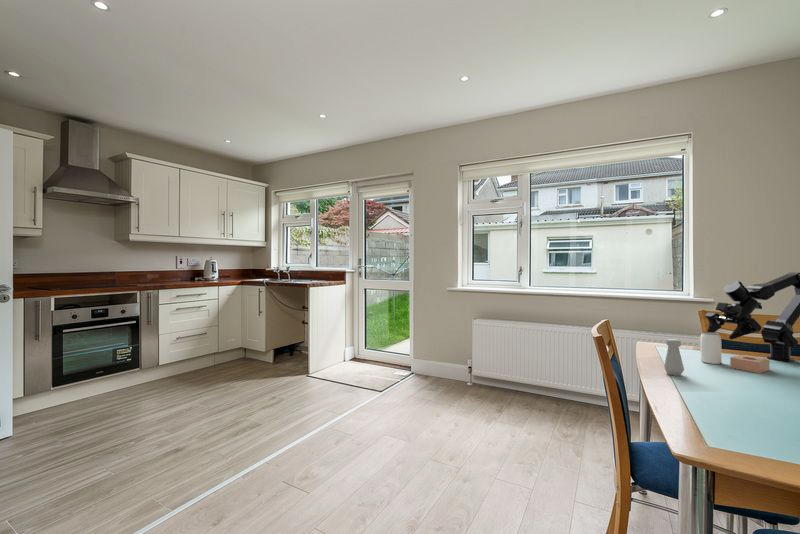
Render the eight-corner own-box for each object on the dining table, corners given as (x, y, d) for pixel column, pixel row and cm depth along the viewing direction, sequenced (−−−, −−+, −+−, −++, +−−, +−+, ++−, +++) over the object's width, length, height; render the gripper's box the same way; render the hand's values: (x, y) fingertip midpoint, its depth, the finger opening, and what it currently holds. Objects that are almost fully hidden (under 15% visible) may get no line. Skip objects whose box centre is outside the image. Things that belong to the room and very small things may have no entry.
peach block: (740, 364, 142) (740, 354, 142) (769, 370, 134) (769, 359, 134) (730, 367, 138) (730, 357, 138) (759, 373, 130) (759, 362, 130)
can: (705, 363, 144) (705, 334, 143) (697, 359, 150) (697, 331, 150) (725, 364, 142) (724, 335, 142) (716, 360, 148) (715, 332, 148)
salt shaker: (688, 376, 128) (687, 341, 128) (672, 377, 128) (671, 341, 128) (675, 371, 134) (675, 337, 134) (660, 372, 134) (660, 337, 134)
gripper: (708, 294, 156) (685, 319, 155) (754, 297, 137) (729, 326, 136) (725, 311, 156) (702, 337, 155) (773, 317, 138) (747, 346, 137)
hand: (718, 336), depth 146 cm, fingers open, 9 cm apart
